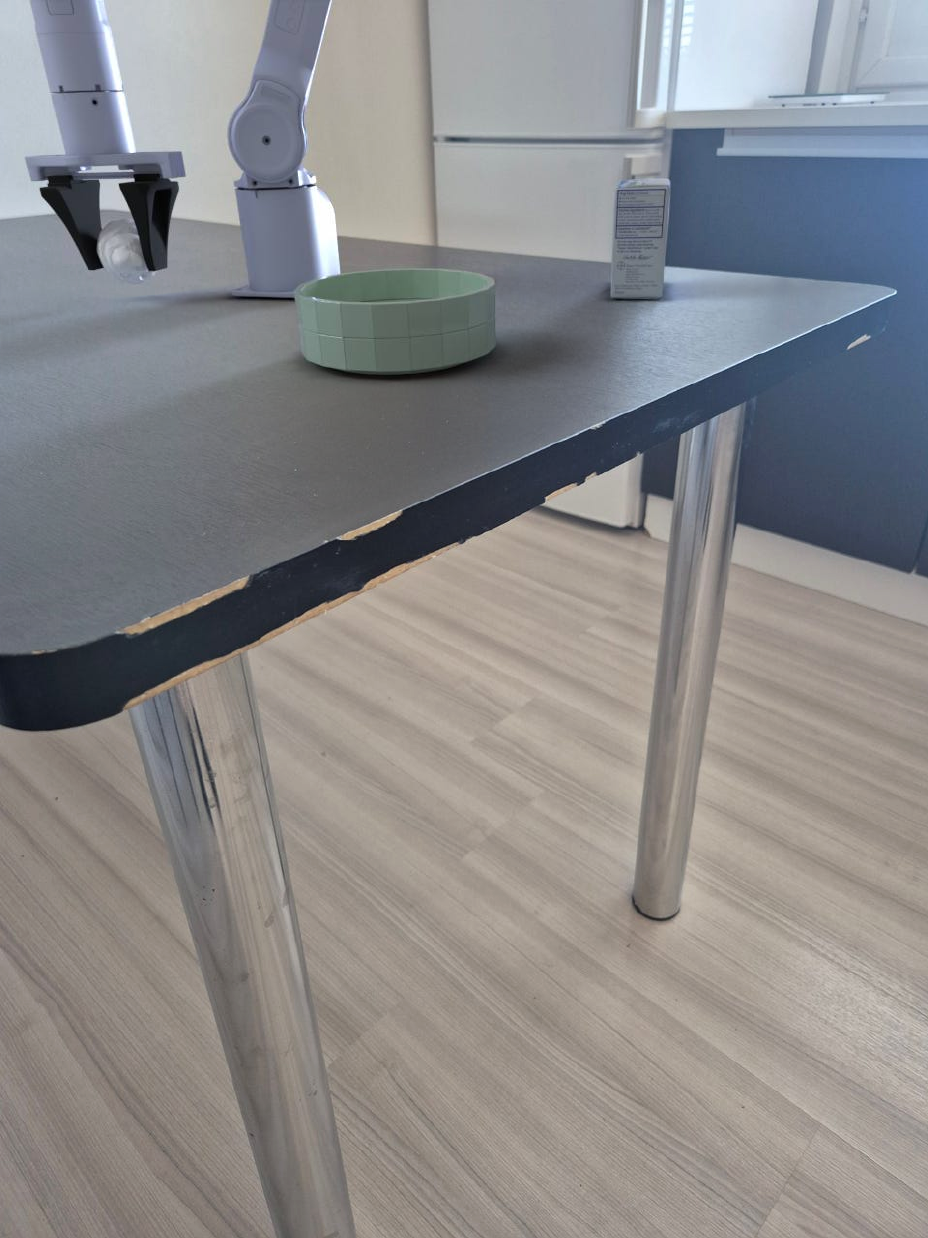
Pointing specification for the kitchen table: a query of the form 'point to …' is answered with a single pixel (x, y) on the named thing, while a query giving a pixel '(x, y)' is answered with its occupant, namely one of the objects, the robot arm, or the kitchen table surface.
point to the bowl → (396, 320)
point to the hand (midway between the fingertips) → (127, 268)
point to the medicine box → (639, 238)
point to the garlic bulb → (122, 252)
